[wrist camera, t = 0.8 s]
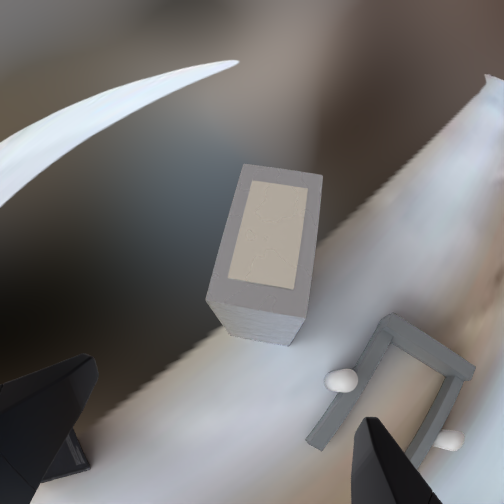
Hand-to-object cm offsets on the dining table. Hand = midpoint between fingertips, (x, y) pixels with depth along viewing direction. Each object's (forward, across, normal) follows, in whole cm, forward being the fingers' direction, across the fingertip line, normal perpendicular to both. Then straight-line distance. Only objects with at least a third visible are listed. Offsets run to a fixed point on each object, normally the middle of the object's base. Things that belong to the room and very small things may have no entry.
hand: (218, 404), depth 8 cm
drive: (+15, 0, +4) cm, 16 cm away
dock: (+9, -11, +10) cm, 18 cm away
